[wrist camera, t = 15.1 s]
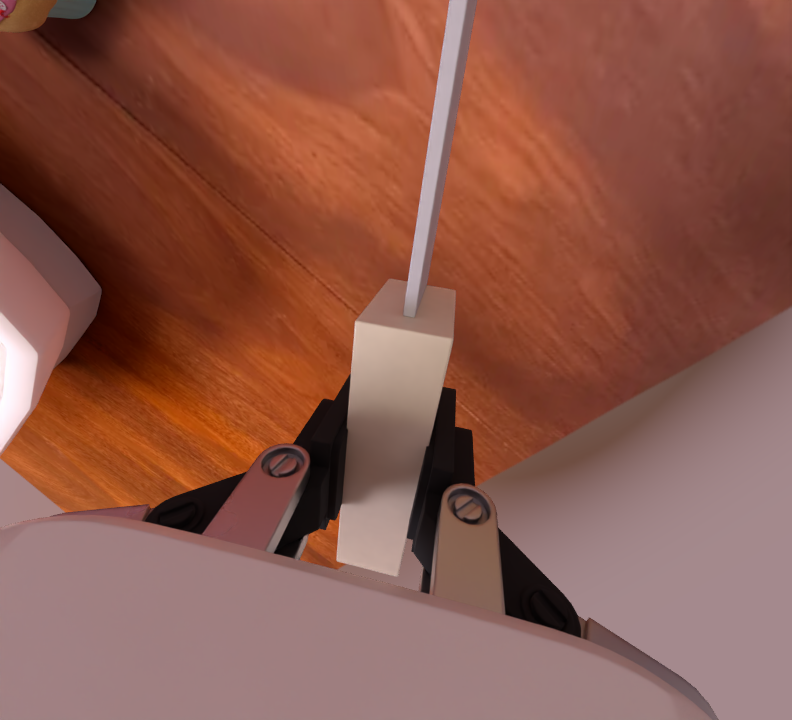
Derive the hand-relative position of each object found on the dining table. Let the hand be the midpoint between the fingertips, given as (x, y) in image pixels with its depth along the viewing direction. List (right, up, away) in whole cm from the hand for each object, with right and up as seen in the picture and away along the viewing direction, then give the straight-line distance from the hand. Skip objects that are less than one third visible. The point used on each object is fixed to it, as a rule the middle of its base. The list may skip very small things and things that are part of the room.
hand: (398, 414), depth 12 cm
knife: (+1, +5, -1) cm, 5 cm away
